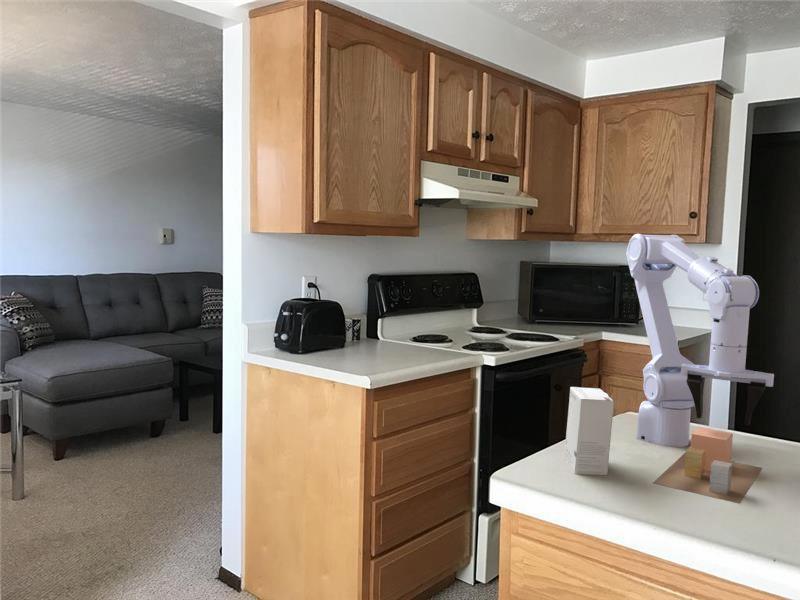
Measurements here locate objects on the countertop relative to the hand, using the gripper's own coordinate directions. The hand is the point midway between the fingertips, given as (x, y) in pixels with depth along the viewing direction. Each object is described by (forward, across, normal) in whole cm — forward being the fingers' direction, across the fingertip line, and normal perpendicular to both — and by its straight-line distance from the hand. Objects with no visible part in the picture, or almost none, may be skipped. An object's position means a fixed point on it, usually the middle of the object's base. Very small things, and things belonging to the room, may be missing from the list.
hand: (722, 420), depth 118 cm
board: (+10, -1, -6) cm, 12 cm away
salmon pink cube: (+8, -1, -1) cm, 9 cm away
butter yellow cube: (+8, -3, -8) cm, 12 cm away
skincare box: (+10, -20, -14) cm, 26 cm away
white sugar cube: (+8, +2, -13) cm, 16 cm away
